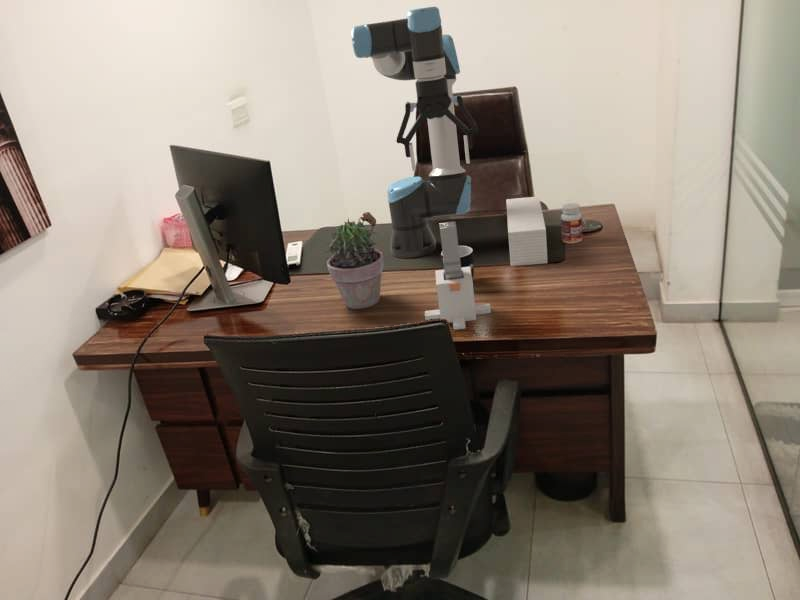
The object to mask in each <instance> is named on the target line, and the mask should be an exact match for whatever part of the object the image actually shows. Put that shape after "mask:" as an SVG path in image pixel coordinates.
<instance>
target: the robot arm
mask: <svg viewBox="0 0 800 600" xmlns="http://www.w3.org/2000/svg"><path fill="white" fill-rule="evenodd" d="M351 42H352V43H351V44H352V48H353V52H354V55H355V56H356V58H359V59H363V58H366V59H368V58H371V60H372V64H373V66H374V68H375V70H376V71H377V72H378V73H379V74H380V75H382V76H384V77H386V78H390V79H393V80H397V81H414V80H416V81H415V90H416V98H417V99H416V100H417V101H416V102H410V101H406V102H405V104H404V105H405V106H404V107H405V112H404V115H403V119H402V121H401V124H400V127H399V131H398V132H397V133H398V134H397V136H396V140H395V141H396V143H397V144H400V145H401V144H402V145H403V146H404V151H405V156H406V158H407V159H408V158H410V162H411V170H412V172H415V171H416V169H417V168H416V162H415V154H414V146H413V142H411V141H412V139H413V138H414V136H415V135H416V133H417V131H418V130H419V128H420V126H421V125H422V123H423V122H424V120H425V119H427V127H428V128H427V129H428V137H429V144H430V145H429V147H430V155H431V161H432V163H431V164H432V170H431V172H430V173H429V174H428V179H429V180H424V179H423V178H422V177H421V176H418V175H417V176H408V177H404V178H402V179H398V180H397V181H395V182H393V183H391V184H390V185H389V186H388V188H387V203H388V207H389V213H390V214H389V215H390V218H391V219H390V220H391V226H392V231H391V238H390V246H389V249H390V254H391V256H394V257H396V258H401V259H410V258H411V259H412V258H417V257H418V258H419V257H422V256H425V255H429V254H430V253H432V252H433V251H435V250H436V249H437V242H436V241H437V240H436V238H435V236H434V234H433V231H432V230H431V229H430V228H431V227H430V226H429V222H428V218H429V219H430V218H437V217H438V218H439V217H449V216H457V215H463V214H467V213H468V212H469V211H470V209H471V193H472V192H471V191H472V189H471V187H472V186H471V184H472V178H471V176H470V175H467V173H466V172H467V171H466V169H464V168H463V167H462V166H461V163H460V152H459V143H458V134H457V128H459V129H460V130H461V132H463V133H464V134H465V135H463V142H464V153H465V161H466V162H465V163H466V164H470V163H471V161H470V152H469V150H473V147H474V145H473V135H474V134H477V133H479V131H480V129H479V127H478V126H477V124H476V122H475V120H474V119H473V118H472V116H471V114H470V112H469V110H467V108H466V107H465V105H464V101H463V98H462V95H461V94H457V95H456V96H454V94H453V86H454V84H455V83H456V81H457V75H458V74H460V73H461V70H460V69H461V68H460V63H459V59H458V55H457V50H456V46H455V43H454V38H453V37H452V36H451V35H450V34H443V27H442V18H441V14H440V9H439V8H438V7H437V6H428V7H427V6H426V7H421V8H415V9H410V10H409V11H408V12H407V17H406V18H401V19H395V20H389V21H382V22H375V23H368V24H367V23H363V24H360V25H357V26H353V28H352V29H351ZM455 106H456V107H457V106H458V108H459V110H460V111H461V113H462V115H463V116H464V119H466V121H467V123H468V125H469V126H470V128H469V127H467V126H466V125H465V123H463V122H462V121H461V120H460V119H459V118H458V117H457V116H456V114H455V113H456V112H455ZM415 108H416V109H417V110H418V112H420V114H419V115H418V117H417V119H416V120H415V122H414V124H413V125H412V127H411V128H410V130H409V132H408V133H407V135H406V136H405V137H404V134H405V131H406V128H407V126H408V123H409V122H408V121H409V120H410V116H411V113H413V112H414V109H415Z"/></svg>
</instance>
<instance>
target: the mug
mask: <svg viewBox="0 0 800 600" xmlns="http://www.w3.org/2000/svg"><path fill="white" fill-rule="evenodd" d="M458 248H459V255H460V261H461V267H469V266H470V269H471V275H472V280H473V281H474V275H475V274H474V272H475V261H474V250H473V248H472V247H470V246H467V245H458ZM440 257H441V258H440V260H441V263H442V270H444V265H443V252H442V251H441V253H440Z"/></svg>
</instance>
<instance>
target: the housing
mask: <svg viewBox="0 0 800 600" xmlns="http://www.w3.org/2000/svg"><path fill="white" fill-rule="evenodd" d="M461 270H462V274H461V275H462V278H460V279H452V280H446V276H445V273H444V269H438V270H437V269H436V270H435V271H434V273H435V285H436V294H437V302H438V309H431V310H430V309H429V310H424V317H425V318H424V320H425V321H429V320H431V319H432V320H441V319H446V320H448V322H449V323H448V324H451V323H452V325H453V326H452V327H453V330H456V331H457V330H464V329H467V328H466V322H469V321H477V315H483V314H489V313H490V314H492V307H491V304H490V303H483V304H476V301H475V293H474V283H473V281H474V279H473V280H472V275H471V269H470V266H469V267H461Z"/></svg>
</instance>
